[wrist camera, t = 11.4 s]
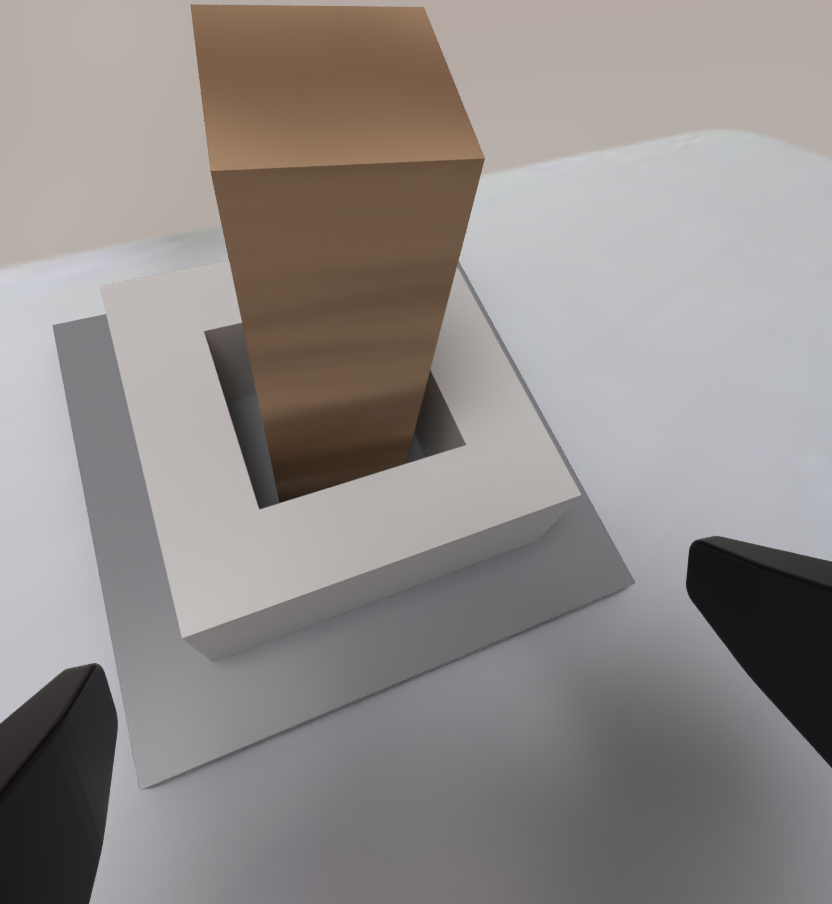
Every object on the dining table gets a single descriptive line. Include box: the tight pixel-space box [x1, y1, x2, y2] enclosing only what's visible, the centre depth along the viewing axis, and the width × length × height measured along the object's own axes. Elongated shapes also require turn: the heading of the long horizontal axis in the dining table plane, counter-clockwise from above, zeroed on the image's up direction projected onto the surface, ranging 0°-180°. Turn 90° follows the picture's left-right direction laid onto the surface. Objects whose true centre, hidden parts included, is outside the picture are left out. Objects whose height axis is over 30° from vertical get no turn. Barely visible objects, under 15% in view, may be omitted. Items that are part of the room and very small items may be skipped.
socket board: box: [53, 261, 635, 790], centre depth 20 cm, size 16×16×5 cm
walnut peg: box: [191, 5, 485, 503], centre depth 15 cm, size 4×4×13 cm
